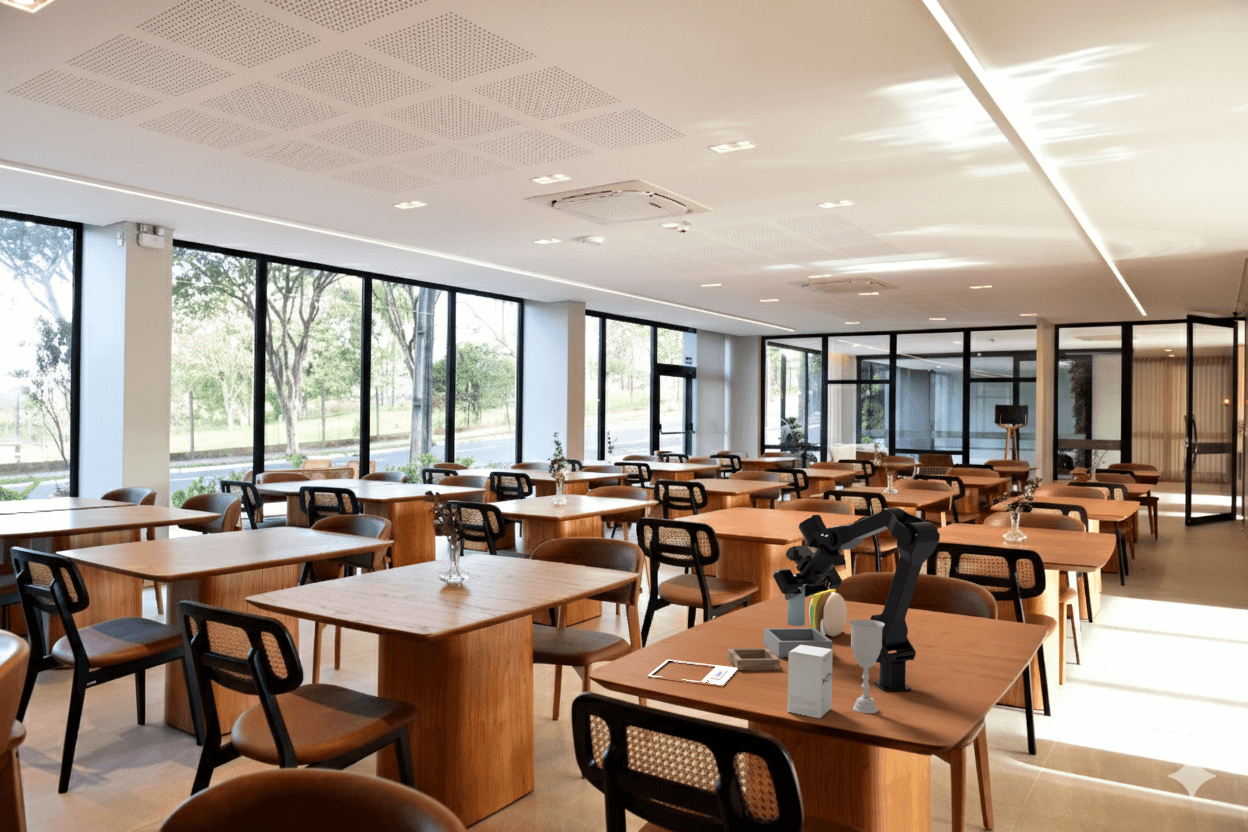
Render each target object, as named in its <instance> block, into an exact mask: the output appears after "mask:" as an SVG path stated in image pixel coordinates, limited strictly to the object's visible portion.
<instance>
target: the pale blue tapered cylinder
mask: <svg viewBox="0 0 1248 832" xmlns="http://www.w3.org/2000/svg"><path fill="white" fill-rule="evenodd" d="M793 575H794V576H796V574H793ZM800 591H801V592H802V593H801V594H799V595H797V596H795V597H793V598H791V599H789V600H787V625H789V626H794V627H803V626H805V625H806V621H805V620H806V616H805V615H806V614H805V613H806V597H805V585H802V588H800Z"/></svg>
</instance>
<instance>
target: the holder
mask: <svg viewBox="0 0 1248 832" xmlns="http://www.w3.org/2000/svg"><path fill="white" fill-rule="evenodd" d="M726 650H727V654H726V655H727V658H728V659H729V660H730V661H731V662H732V664H733V665H734V666H735V667H736V668H737V669H738V670H749V671H780V670H781V667H780V665H781V660H780V659H781V658H778V657H777V656H776V655H775V654H774V653H773V652H772V651H771V650H770V649H769V648H768V647H753V648H752V647H751V648H749V647H746V648H742V647H741V648H740V647H739V648H727V649H726ZM728 659H727V660H728ZM729 660H728V661H729ZM730 661H729V662H730ZM731 662H730V663H731ZM732 664H731V665H732ZM733 665H732V666H733ZM734 666H733V667H734ZM774 669H775V670H774ZM776 669H778V670H776Z"/></svg>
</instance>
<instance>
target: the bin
mask: <svg viewBox="0 0 1248 832" xmlns="http://www.w3.org/2000/svg"><path fill="white" fill-rule="evenodd" d="M763 645H764V646H765V647H766V648H768V649H769V650H770V651H771V652H773V653H774V654H775V655H777V656H778V657H779V659H785V658H784V657H787V658H786V659H789V652H790V651H791V650H793V649H794V648H796V647H798V646H799V645H807V646H814V647H821V648H828V649H832V650H833V640H831V639H830V637H829V638H828V637H827V635H823V634H822V633H821V632H819V631H818V630H816V629H815V628H812V627H792V628H791V627H790V628H789V627H786V628H782V627H781V628H774V627H773V628H763Z"/></svg>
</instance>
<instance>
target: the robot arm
mask: <svg viewBox="0 0 1248 832" xmlns="http://www.w3.org/2000/svg"><path fill="white" fill-rule="evenodd" d="M798 530H799V531H800V533H801V535H802V536H803V538H804V540H805V541H806V542H805V543H807V545H808V546H807V545H793V546H790V547H789V548H788V549H787V550H786V553H785V557H786V558H787V560H789V561H790V562H794V563H795V564H796V566H795V568H796V570H797V572H796V573H795V574H793V571H792V570H791V569H789V568H781V569H776V571H774V573H773V575H772V577H773V579H774V580H775V583H776V584H777V585H776V586H778V588H779V591H780V592H781V594H783V595H784V599H785V601H788V600H789V599H791V598H793V597H795V596H797V595H799V594H801V593H802V592H801V591H800V588H802V585H805V598H807V597H810V596H813V595H814V594H817V593H820V592H823V591H827V590H828V588H829V590H830V589H836V590H839V588H840V587H841V586H842V584H843V582H842V581H843V580H842V577H841V576H840V574H839V572H838V571H837V569H836V568H835V567H840V566H846V565H847V562H846V559H845V555H844V554H842V552H841V551H847V550H854V549H856V548H857V547H858V546H859V545H861V544H862V542H863V540H864V539H866V538H869V537H872V536H874V535H877V534H879V533H882V532H884V531H886V530H888V532H889V535H891V537H893V538H895V539H896V540H897V541H896V548H897V552H898V555H899V558H898V562H897V566H896V568H895V572H894V574H893V575H894V576H893V577H892V578H893V579H892V582H891V584H890V588H889V590H888V591H889V592H888V593H887V598H886V600H885V604H884V607H883V610H882V612H881V613H879V614H873V615H871V617H870V619H869V620H875V621H880V622H883V623H884V624H885V625H884V627H883V629H882V648H881V651H880V654H879V656H878V658H877V660H876V662H875V663H879V674H878V675H879V680H873V684H874V685H876V686H877V687H878V688H879V689H881V690H882V691H884V692H906V691H907V692H908V691H910V692H911V691H912V690H913V689H912V687H911V686H909V685H908V684H907V683H906V680H907V678H906V677H907V676H906V675H907V661H914V660H915V657H916V654H917V651H916V650H915V648H914V646H913V645H912V643H911V642H910V640H909V639H908V633H909V628H908V624H907V621H906V617H907V614H908V611H909V607H910V604H911V601H912V598H913V595H914V593H915V592H914V591H915V589H916V586H917V581H918V579H919V575H920V573H921V569H922V566H923V564H924V563H925V562H926V561H927V560H928V558H930V557H931V556H932V555H933V554H934V553H935V551H936V548H937V546H938V544H939V542H940V538H941V537H940V536H941V534H940V532H939V531H938V530H939V529H938V528H937V527H936V525H935V524H934V523H933V522H930V521H926V520H925V519H923V518H921V517H919V516H916V515H913V514H911V513H909V512H907V511H906V510H904V509H902V508H901V507H888V508H887V507H886V508H883V509H882V510H880V511H879V512H876V513H874V514H872V515H869V516H866V517H865V518H863V519H860V520H857V521H855V522H853V523H850V524H844V525H836V526H830V527H827V526H826V524H825V523H824V521H823V518H822V517H821V515H820V514H813V515H812V516H811V517H809V518H806V519H805V520H803V521H801V522H800V523H799V524H798ZM810 548H815V551H814V552H813V550H811V549H810ZM794 575H796V576H794ZM827 581H828V583H829V585H828V587H827V586H826V585H827ZM893 651H895V652H893ZM889 652H890V653H889Z"/></svg>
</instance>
